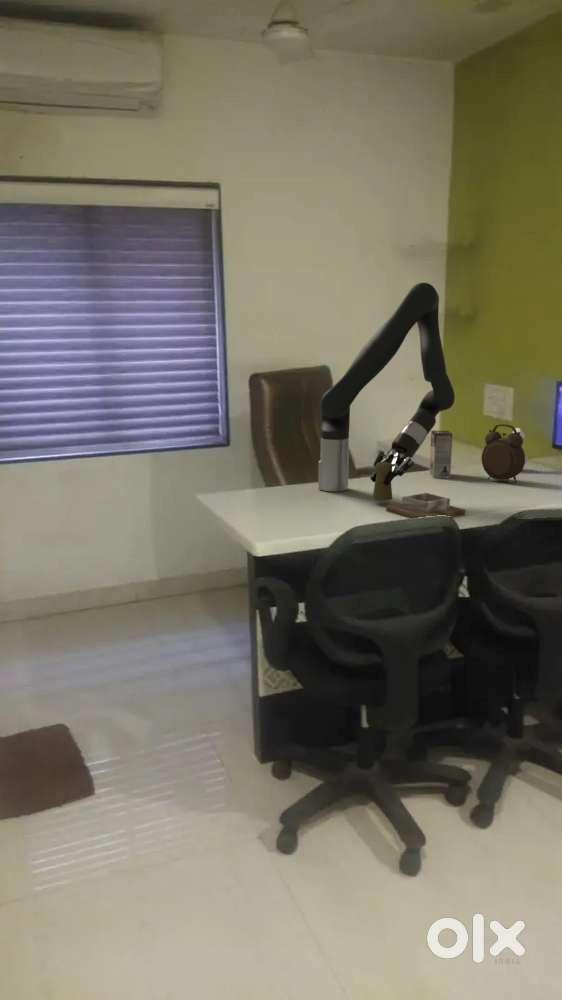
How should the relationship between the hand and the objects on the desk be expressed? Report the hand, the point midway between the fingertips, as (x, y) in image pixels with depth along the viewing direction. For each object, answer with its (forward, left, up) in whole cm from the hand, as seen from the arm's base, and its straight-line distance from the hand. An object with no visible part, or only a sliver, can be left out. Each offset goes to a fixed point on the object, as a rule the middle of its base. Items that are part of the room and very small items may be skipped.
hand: (378, 482), depth 231 cm
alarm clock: (+33, +49, -7) cm, 60 cm away
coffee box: (+11, +52, -7) cm, 54 cm away
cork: (+1, +1, -5) cm, 6 cm away
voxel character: (+36, +72, -7) cm, 81 cm away
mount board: (+15, -6, -7) cm, 18 cm away
